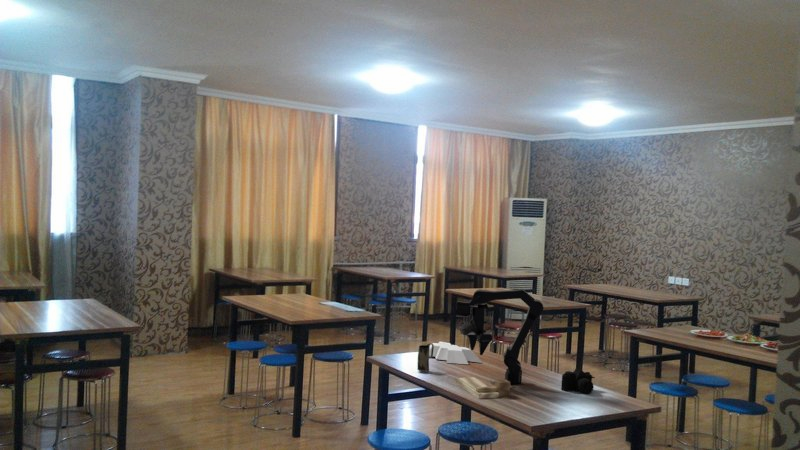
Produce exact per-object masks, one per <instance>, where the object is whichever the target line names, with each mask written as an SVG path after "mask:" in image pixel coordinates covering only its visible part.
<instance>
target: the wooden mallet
mask: <svg viewBox="0 0 800 450" xmlns="http://www.w3.org/2000/svg"><path fill="white" fill-rule="evenodd" d="M476 391H477V392H479V391H496V392H498V393H499V398H502V397H503V398H504V397H510V396H511V385H510V382H509V381H507V380H505V379H495V380H494V386H489V387H476Z"/></svg>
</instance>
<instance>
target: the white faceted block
mask: <svg viewBox="0 0 800 450" xmlns="http://www.w3.org/2000/svg"><path fill="white" fill-rule="evenodd" d="M432 344H433V345H434V349H433V356H432V358H433V357H435V359H436V360H440V361H441V360H442V361H446V364H458V365H459V364H460V365H469V362H471V363H472V362H474V363H481V364H482V363H483V361H482V360H481V359H480V358H479V356H477V354H475V353H474V350H471V348H468V347H466V346H458V345H456V344H451V342H445V341H438V343H436V342H432V343H431V344H430V349H429V357H431V351H432Z"/></svg>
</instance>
